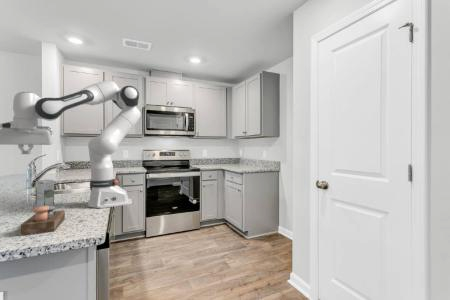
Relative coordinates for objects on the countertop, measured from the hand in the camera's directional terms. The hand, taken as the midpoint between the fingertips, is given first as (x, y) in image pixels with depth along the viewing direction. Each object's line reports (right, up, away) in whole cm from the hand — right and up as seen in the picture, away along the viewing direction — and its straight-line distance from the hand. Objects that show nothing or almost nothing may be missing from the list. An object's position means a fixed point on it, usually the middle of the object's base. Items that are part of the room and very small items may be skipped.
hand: (25, 154), depth 106 cm
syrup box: (-1, -29, +13) cm, 32 cm away
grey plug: (+21, -28, -13) cm, 38 cm away
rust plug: (+25, -27, -20) cm, 42 cm away
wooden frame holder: (+23, -29, -17) cm, 41 cm away
